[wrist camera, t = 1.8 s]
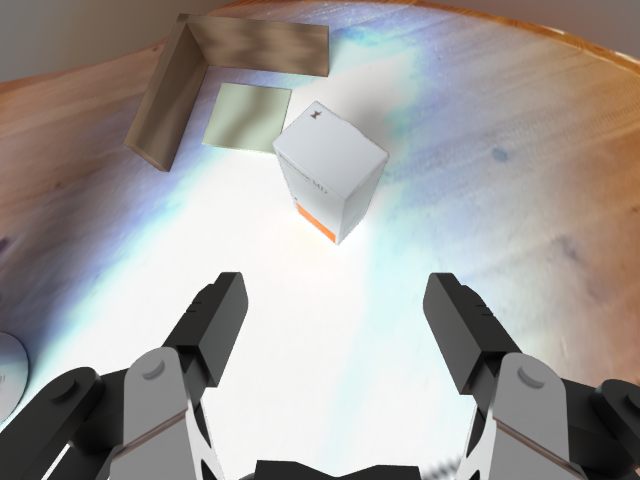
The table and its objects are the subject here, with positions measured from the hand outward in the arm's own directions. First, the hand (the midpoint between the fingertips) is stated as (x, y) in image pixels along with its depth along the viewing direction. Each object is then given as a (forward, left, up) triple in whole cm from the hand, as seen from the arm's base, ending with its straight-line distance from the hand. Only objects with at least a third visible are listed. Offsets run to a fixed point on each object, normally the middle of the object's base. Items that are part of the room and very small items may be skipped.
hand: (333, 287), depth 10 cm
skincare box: (-2, +8, -14) cm, 16 cm away
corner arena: (-14, +19, -14) cm, 27 cm away
